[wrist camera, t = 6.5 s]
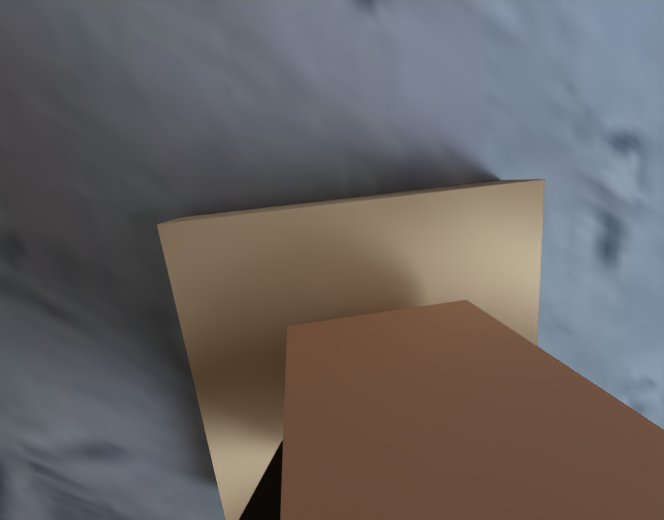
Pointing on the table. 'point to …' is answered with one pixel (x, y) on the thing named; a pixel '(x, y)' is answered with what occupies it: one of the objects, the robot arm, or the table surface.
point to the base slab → (333, 291)
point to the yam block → (455, 426)
